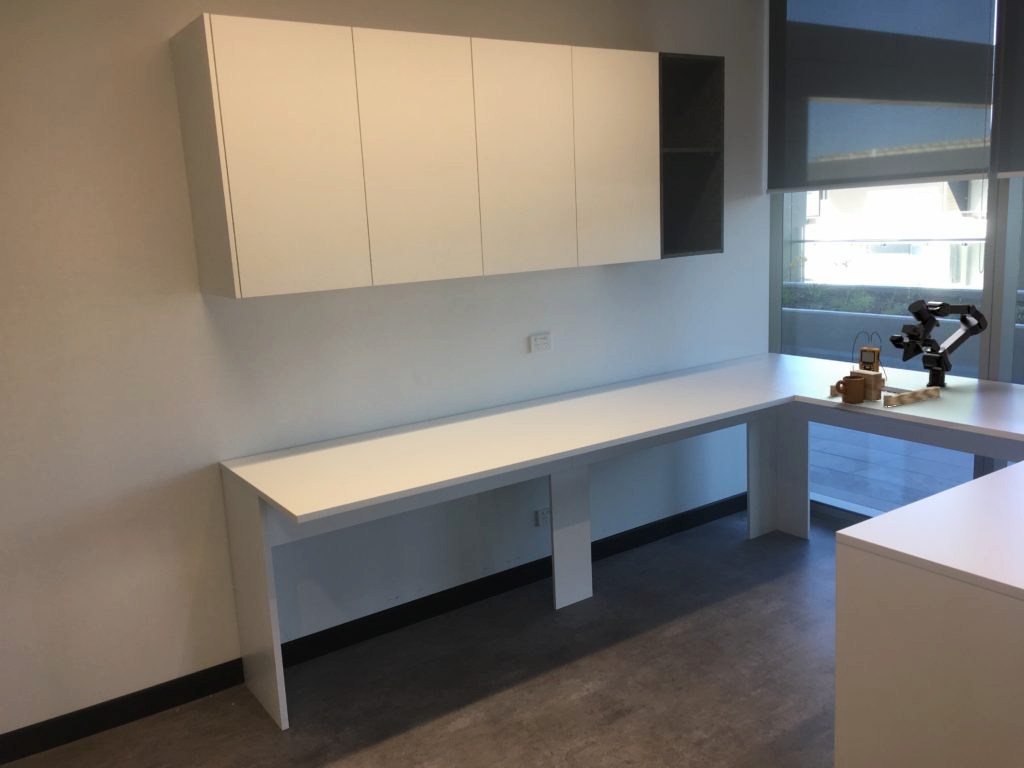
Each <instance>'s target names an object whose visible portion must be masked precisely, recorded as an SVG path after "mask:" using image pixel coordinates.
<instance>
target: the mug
mask: <svg viewBox="0 0 1024 768" xmlns="http://www.w3.org/2000/svg"><path fill="white" fill-rule="evenodd" d="M835 385H836V386H835V387H836V390H837V392H838V393H841V394H842V395H841V400H842V402H843V404H848V405H861V403H862V404H864V401H865V400H864V390H865V380H864V377H861V376H850V375H846V376H842V379H840V380H838V381H836V383H835ZM840 385H842V389H841V388H840Z"/></svg>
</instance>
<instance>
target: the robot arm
mask: <svg viewBox="0 0 1024 768" xmlns="http://www.w3.org/2000/svg"><path fill="white" fill-rule="evenodd" d="M907 310H908V312H909V313H910V315H911V317H912V318H913V319H914V320H915V321H916V322H917V324H909V323H903V325H902V327H901V331H900V333H903V334H904V335H905V337H903V335H901V334H892V335H890V337H889V342H890V343H891V345H893V347H894V348H895V349H898V350H903V353H902V358H901V361H902V362H904V363H905V362H908V361H909V360H911V359H913V358H915V357H916V356H919V355H920V354H922V356H921V357H922V358H921V362H922V366H923V370H928V382H927V383H926V387H935V386H936V387H940V388H946V386H947V384H948V383H947V382H946V372H947V373H949V372H951V371H952V367H953V365H952V363H951V362H950V356H951V355H952V353H954V352H955V351H956V350H957V349H958V348H959V347H961V345H963V344H964V343H965V342H966V341H967V340H969V338H970V337H974V336H977V335H980V334H982V333H983V332H984V331H985V330H986V329H988V328H987V327H988V321H987V319H986V317H985V315H984V314H983V313H982V312H980V311H979V310H978V309H977V307H976V306H975V304H972V303H961V304H956V303H955V304H953V303H952V304H951V303H947V302H944V301H943V302H941V301H928V302H927V303H926V301H925V300H924V299H921V298H918V299H917V301H914V302H911V304H909V306H907ZM950 315H959V322H960V328H958V330H956V331H955V332H954V333H953V334H952V335H951V336H950V337H948V338H947V339H946V340H945V341H944V342H942V344H939V343H938V341H937V340H936V338H932V335H931V333H932V332H933V331H934V329H935V328H940V327H941V325H940V320H939V319H937V318H945V317H949V316H950ZM967 315H968V316H967ZM926 348H927V349H926ZM925 349H926V350H925Z"/></svg>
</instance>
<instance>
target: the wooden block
mask: <svg viewBox="0 0 1024 768" xmlns="http://www.w3.org/2000/svg"><path fill="white" fill-rule="evenodd" d="M849 376H861V377H864V380H865V390H864V401H867V402H871V403H872V402H876V401H881V400H882V391H881V389H882V378H883V373H882V372H880V371H879V372H873V371H866V370H860V369H859V368H858V369H854V371H853V370H849Z"/></svg>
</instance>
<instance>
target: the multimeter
mask: <svg viewBox="0 0 1024 768" xmlns="http://www.w3.org/2000/svg"><path fill="white" fill-rule="evenodd" d="M861 333H862V331H860V332H859V333H858V334H857V335H856V337H855V340H854V343H853V347H852V350H854V348H855V344H856V341H857V338H858V336H859V335H860V334H861ZM864 333H865V334H866V335H867V336H868V342H867V347H866V346H865V347H860V348H859V356H858V357H859V359H858V370H859V369H860V370H866V371H873V372H879V373H880V367H882V370H883V373H884V375H885V381H886V382H887V381H888V378H887V374H886V371H885V369H884V367H883V365H882V362H881V360H880V359H881V358H880V355H881V351H882V346H880V347H879V348H875V347H873V346H872V337H873V335H874V333H875V334H876V335H877V336H878V338H879V340H880V342H882V339H881V336H880V335H879V334H878V332H876V331H874V332H872V334H871V336H870V334H869V333H868V332H867V331H864ZM851 355H852V361H854V351H852V354H851ZM854 368H855V367H854V366H852V371H854V370H855V369H854Z"/></svg>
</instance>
